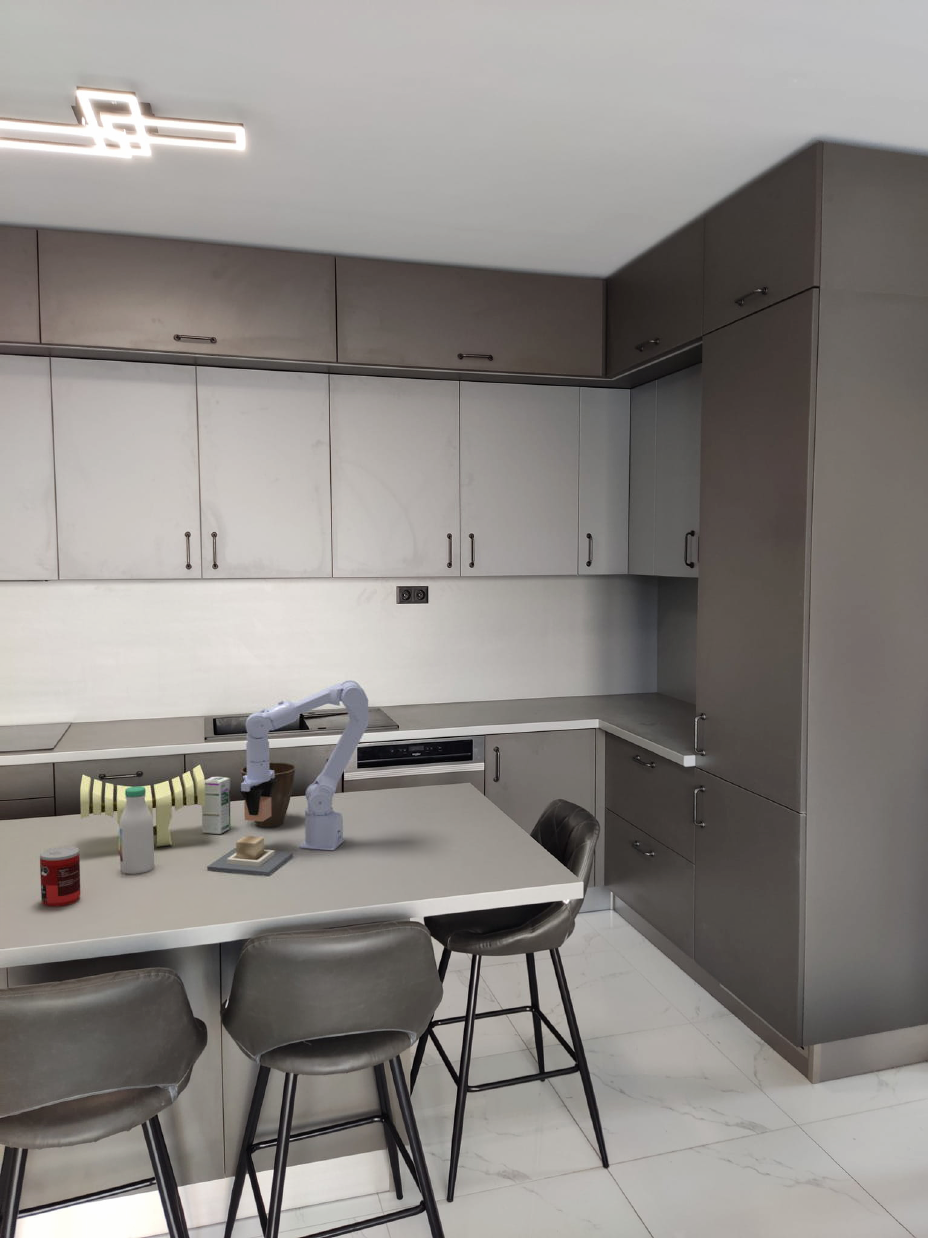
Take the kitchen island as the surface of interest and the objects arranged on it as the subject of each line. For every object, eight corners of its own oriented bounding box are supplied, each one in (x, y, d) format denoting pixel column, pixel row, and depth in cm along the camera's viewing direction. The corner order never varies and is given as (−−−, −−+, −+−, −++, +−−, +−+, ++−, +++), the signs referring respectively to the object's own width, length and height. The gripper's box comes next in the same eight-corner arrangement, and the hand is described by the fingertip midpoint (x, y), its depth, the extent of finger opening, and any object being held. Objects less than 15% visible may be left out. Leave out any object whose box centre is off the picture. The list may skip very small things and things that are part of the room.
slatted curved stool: (82, 859, 219) (80, 789, 218) (84, 839, 234) (82, 774, 233) (206, 844, 230) (204, 778, 229) (201, 827, 245) (199, 764, 244)
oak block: (264, 856, 218) (264, 837, 218) (255, 863, 213) (254, 843, 213) (245, 855, 219) (245, 835, 219) (236, 862, 214) (236, 842, 214)
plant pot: (231, 825, 247) (230, 769, 246) (270, 813, 259) (269, 759, 258) (267, 835, 238) (266, 777, 237) (306, 821, 250) (306, 766, 249)
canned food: (49, 894, 196) (47, 846, 196) (85, 893, 197) (84, 845, 196) (35, 908, 189) (33, 858, 188) (73, 906, 189) (72, 857, 189)
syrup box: (220, 834, 238) (221, 781, 238) (201, 832, 239) (201, 780, 239) (230, 829, 243) (231, 777, 243) (211, 827, 245) (211, 776, 244)
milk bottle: (161, 866, 214) (159, 785, 213) (139, 876, 207) (137, 793, 206) (135, 862, 217) (133, 783, 216) (113, 872, 210) (111, 791, 208)
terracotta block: (271, 816, 228) (271, 797, 227) (262, 821, 223) (262, 802, 223) (253, 814, 229) (253, 796, 229) (244, 820, 224) (244, 801, 224)
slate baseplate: (292, 856, 221) (292, 848, 221) (268, 876, 208) (268, 867, 207) (235, 851, 225) (234, 843, 225) (207, 870, 211) (207, 861, 211)
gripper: (257, 753, 233) (257, 803, 234) (229, 765, 219) (230, 818, 220) (281, 754, 231) (282, 805, 232) (255, 767, 217) (256, 820, 218)
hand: (258, 811), depth 226 cm, fingers closed on terracotta block, 5 cm apart
